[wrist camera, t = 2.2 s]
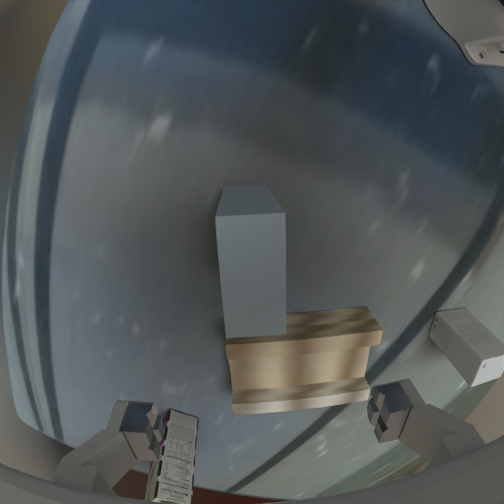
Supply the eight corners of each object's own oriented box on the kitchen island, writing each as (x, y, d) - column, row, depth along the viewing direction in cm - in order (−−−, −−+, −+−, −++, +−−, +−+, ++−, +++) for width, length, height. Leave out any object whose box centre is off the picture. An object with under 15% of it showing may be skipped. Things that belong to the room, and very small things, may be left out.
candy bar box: (182, 452, 46) (172, 532, 31) (154, 443, 46) (138, 524, 30) (201, 416, 43) (193, 510, 28) (169, 406, 42) (151, 500, 27)
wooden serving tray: (366, 306, 38) (382, 329, 33) (355, 375, 42) (367, 401, 36) (226, 317, 37) (225, 344, 32) (233, 386, 41) (233, 416, 36)
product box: (267, 184, 32) (285, 212, 20) (270, 267, 35) (286, 334, 23) (222, 186, 32) (212, 216, 20) (228, 269, 35) (224, 338, 23)
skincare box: (427, 336, 40) (469, 388, 29) (435, 310, 39) (482, 360, 27) (458, 331, 40) (500, 378, 29) (466, 307, 39) (513, 351, 28)
